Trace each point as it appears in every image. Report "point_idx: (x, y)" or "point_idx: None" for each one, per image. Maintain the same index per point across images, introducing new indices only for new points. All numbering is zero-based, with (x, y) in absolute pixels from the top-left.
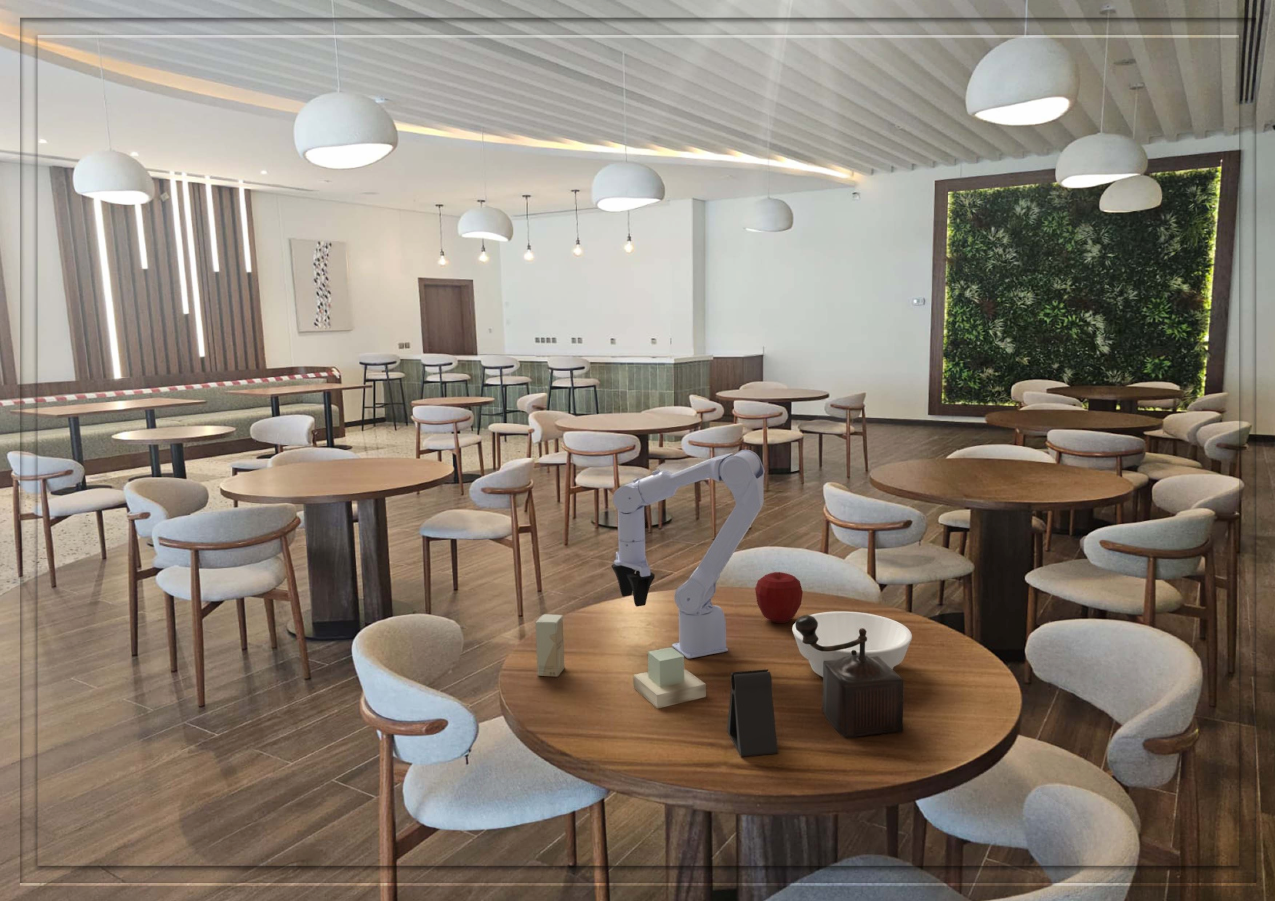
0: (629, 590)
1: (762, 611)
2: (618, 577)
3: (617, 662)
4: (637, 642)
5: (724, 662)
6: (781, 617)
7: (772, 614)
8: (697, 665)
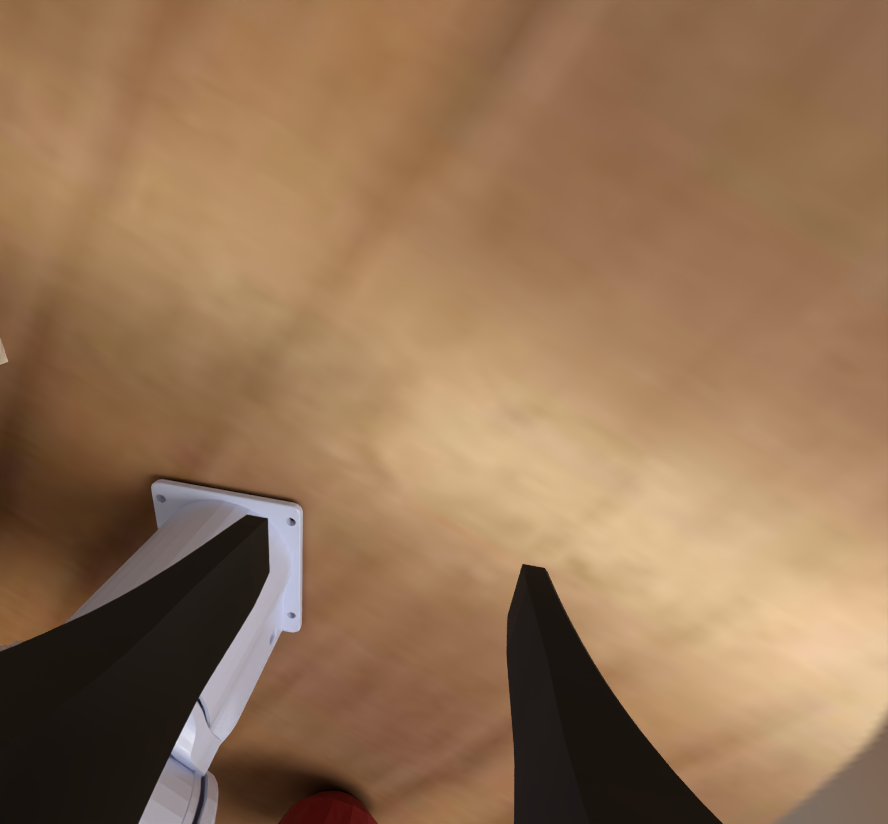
0: (512, 639)
1: (332, 818)
2: (558, 710)
3: (241, 217)
4: (421, 427)
5: (97, 545)
6: (285, 815)
7: (294, 817)
8: (97, 470)
